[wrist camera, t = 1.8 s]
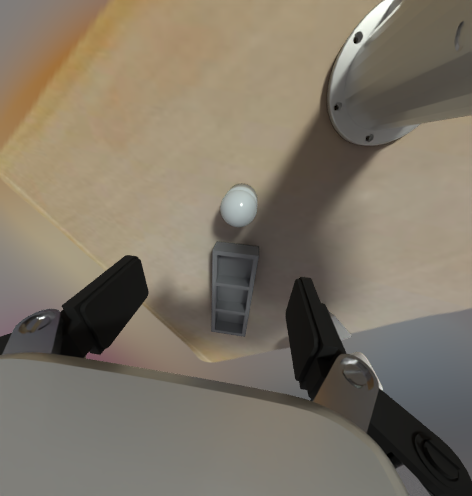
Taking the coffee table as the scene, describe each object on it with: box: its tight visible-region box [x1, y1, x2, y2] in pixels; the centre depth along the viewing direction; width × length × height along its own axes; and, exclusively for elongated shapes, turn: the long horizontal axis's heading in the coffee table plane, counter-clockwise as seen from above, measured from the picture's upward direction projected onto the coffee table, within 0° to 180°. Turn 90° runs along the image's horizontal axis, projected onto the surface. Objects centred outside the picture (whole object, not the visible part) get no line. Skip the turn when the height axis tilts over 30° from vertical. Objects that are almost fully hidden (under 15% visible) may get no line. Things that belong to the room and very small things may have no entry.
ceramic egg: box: [220, 183, 257, 227], centre depth 25 cm, size 5×5×8 cm
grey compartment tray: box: [211, 241, 259, 337], centre depth 36 cm, size 22×8×3 cm, turn 175°
